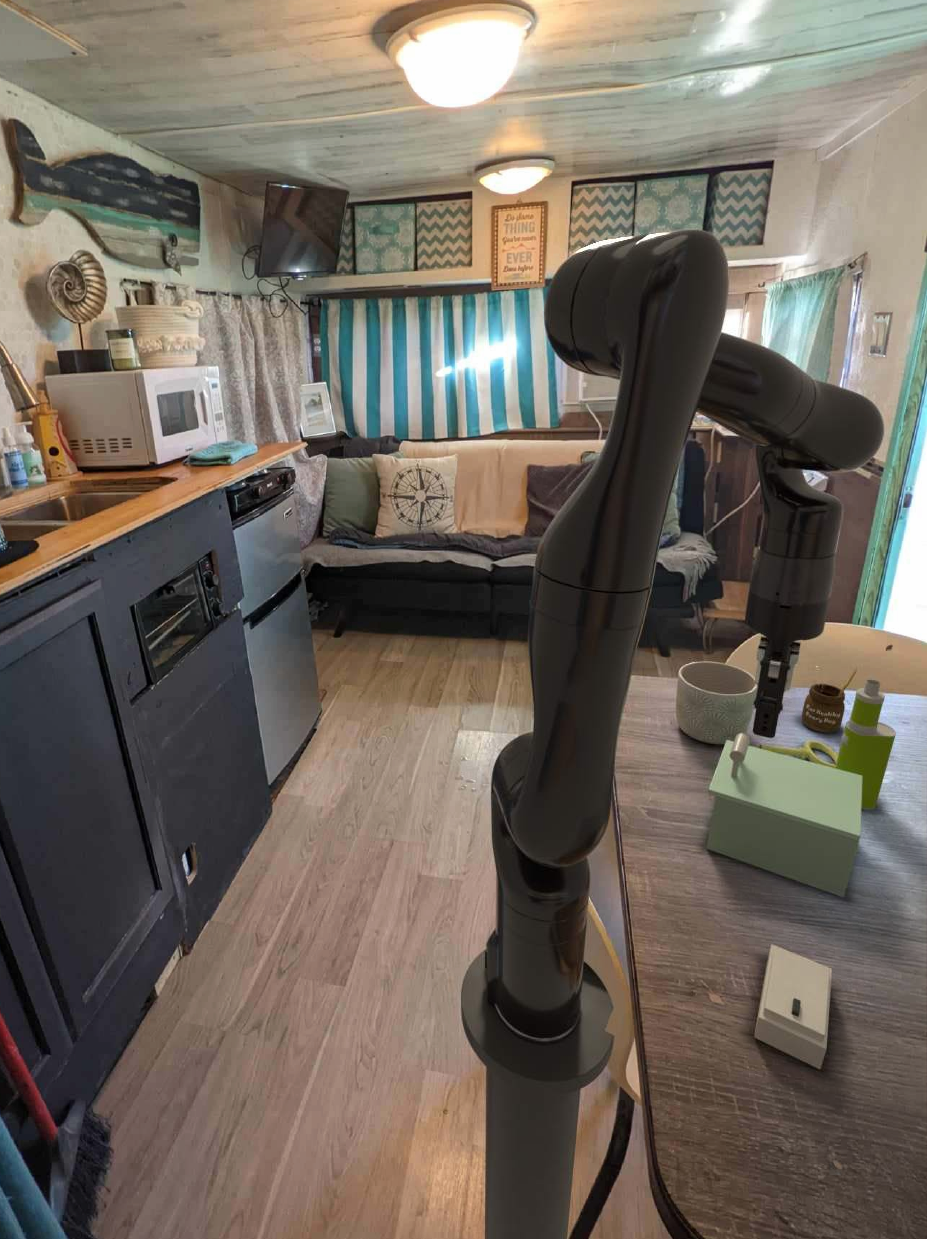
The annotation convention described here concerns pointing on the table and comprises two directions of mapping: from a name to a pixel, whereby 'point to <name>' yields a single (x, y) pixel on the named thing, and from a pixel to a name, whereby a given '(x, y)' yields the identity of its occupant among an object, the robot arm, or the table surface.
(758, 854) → the box
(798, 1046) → the white power adapter
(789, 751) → the key
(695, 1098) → the table surface
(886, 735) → the vape
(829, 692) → the utensil holder
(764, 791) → the lid
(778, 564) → the robot arm
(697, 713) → the planter
